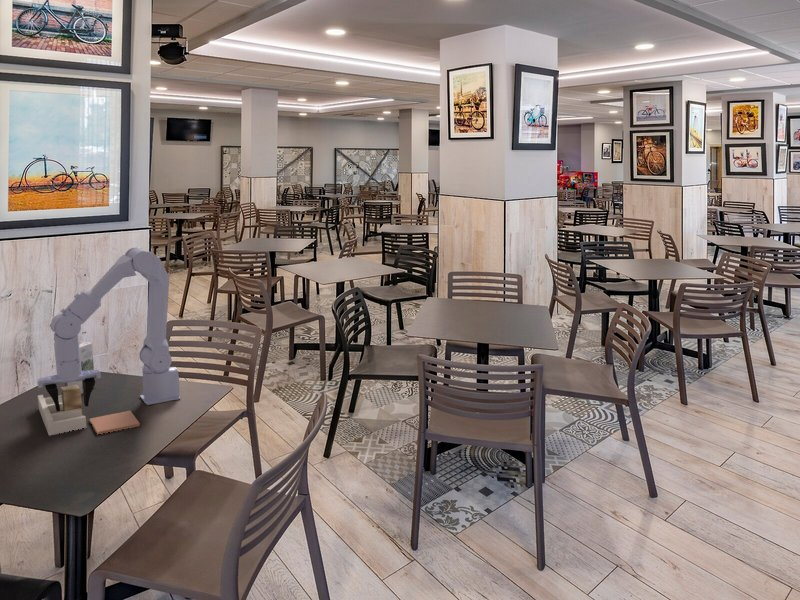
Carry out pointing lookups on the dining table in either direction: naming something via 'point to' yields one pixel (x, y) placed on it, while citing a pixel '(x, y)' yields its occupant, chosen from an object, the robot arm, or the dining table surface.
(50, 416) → the slot rack
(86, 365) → the white carton
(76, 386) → the block
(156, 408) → the dining table surface
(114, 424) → the terracotta tile
